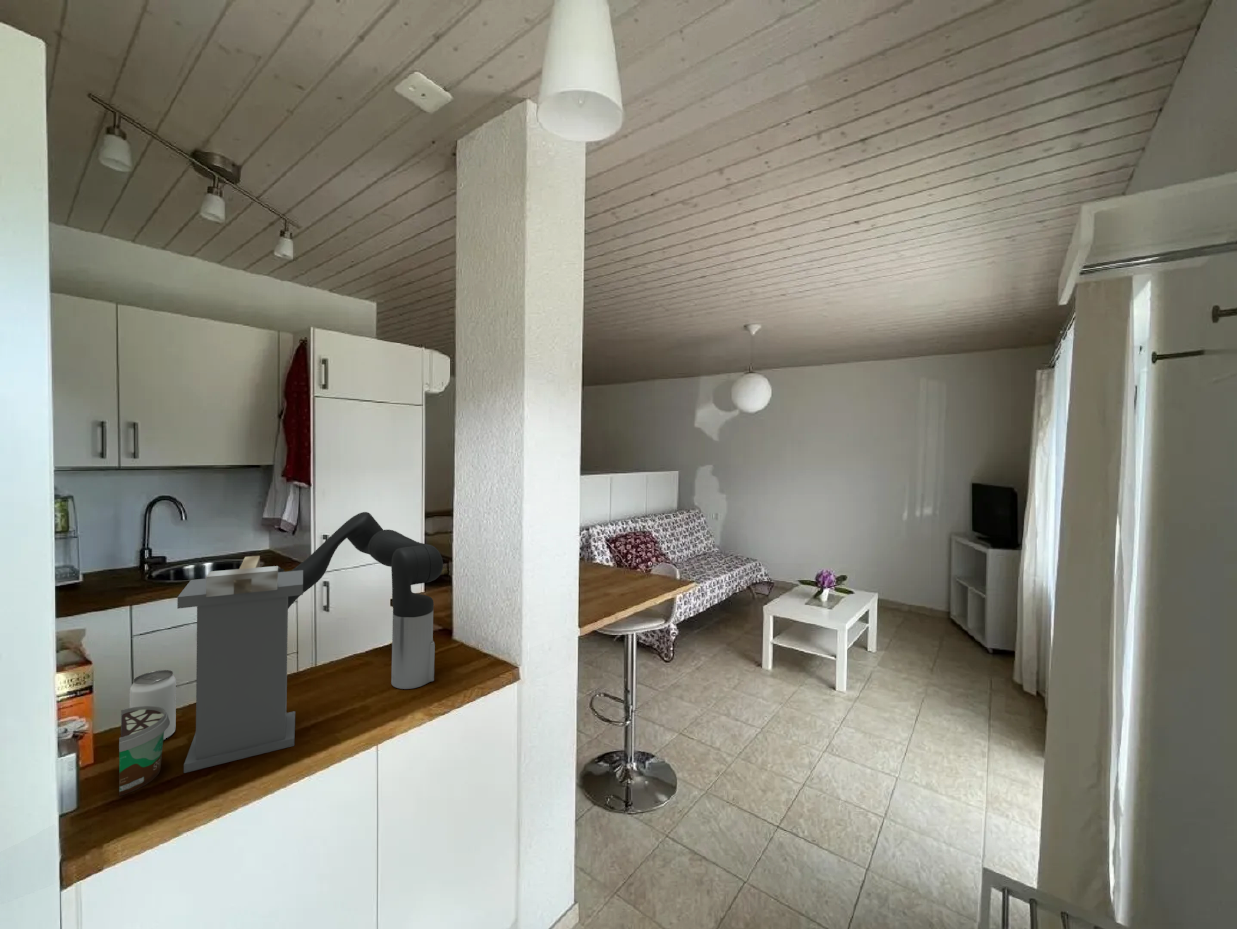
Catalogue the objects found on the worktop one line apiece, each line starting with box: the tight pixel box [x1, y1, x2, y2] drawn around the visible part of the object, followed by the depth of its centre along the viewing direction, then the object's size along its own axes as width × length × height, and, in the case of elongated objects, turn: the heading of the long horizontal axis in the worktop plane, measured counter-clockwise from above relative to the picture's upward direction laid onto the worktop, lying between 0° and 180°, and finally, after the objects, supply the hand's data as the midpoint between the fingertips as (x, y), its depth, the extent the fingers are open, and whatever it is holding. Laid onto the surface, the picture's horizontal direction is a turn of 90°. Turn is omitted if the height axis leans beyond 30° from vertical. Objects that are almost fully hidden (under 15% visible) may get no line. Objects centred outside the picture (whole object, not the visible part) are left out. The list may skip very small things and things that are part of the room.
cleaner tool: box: [205, 555, 279, 597], centre depth 95 cm, size 10×20×4 cm, turn 33°
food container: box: [118, 706, 170, 797], centre depth 85 cm, size 12×6×10 cm, turn 44°
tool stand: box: [176, 570, 304, 774], centre depth 94 cm, size 18×12×31 cm, turn 123°
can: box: [129, 669, 177, 741], centre depth 95 cm, size 6×6×12 cm
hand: (254, 573), depth 109 cm, fingers open, 8 cm apart
